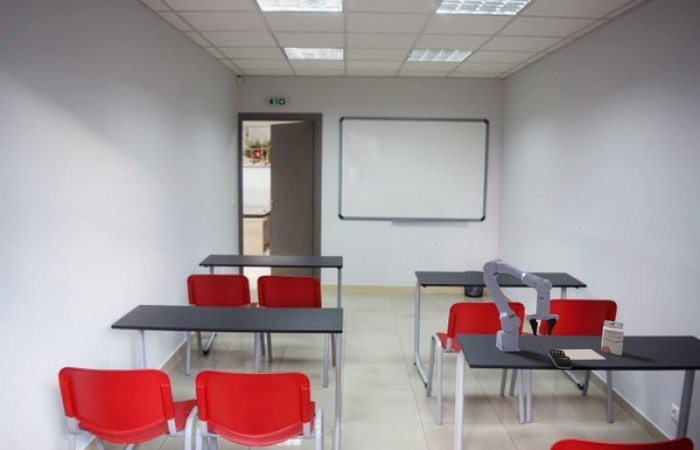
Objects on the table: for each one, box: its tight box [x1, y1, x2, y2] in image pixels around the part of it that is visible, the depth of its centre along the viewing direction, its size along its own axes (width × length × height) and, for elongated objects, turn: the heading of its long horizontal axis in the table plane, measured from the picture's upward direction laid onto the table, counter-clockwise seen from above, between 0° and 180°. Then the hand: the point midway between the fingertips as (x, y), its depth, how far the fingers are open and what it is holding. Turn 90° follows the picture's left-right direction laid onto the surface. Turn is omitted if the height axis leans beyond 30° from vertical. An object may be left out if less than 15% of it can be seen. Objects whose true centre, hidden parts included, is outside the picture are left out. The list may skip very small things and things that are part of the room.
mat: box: [562, 348, 607, 361], centre depth 226 cm, size 20×12×1 cm, turn 95°
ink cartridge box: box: [600, 319, 625, 356], centre depth 230 cm, size 9×5×15 cm, turn 65°
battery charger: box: [548, 349, 573, 369], centre depth 216 cm, size 7×4×11 cm
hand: (541, 334), depth 222 cm, fingers open, 6 cm apart
